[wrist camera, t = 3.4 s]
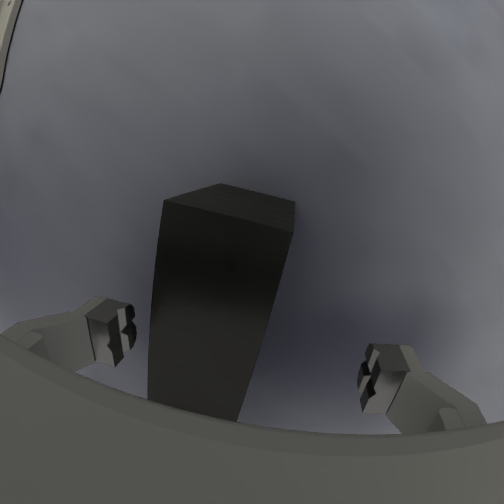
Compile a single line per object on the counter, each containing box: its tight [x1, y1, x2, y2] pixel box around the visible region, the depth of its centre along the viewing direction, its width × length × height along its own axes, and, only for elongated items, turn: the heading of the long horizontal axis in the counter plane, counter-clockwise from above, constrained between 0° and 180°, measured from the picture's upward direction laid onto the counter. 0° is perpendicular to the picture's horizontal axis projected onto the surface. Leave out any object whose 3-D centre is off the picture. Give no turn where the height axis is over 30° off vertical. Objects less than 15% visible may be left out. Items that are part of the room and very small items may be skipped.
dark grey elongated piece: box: [148, 183, 295, 422], centre depth 16 cm, size 24×4×7 cm, turn 167°
